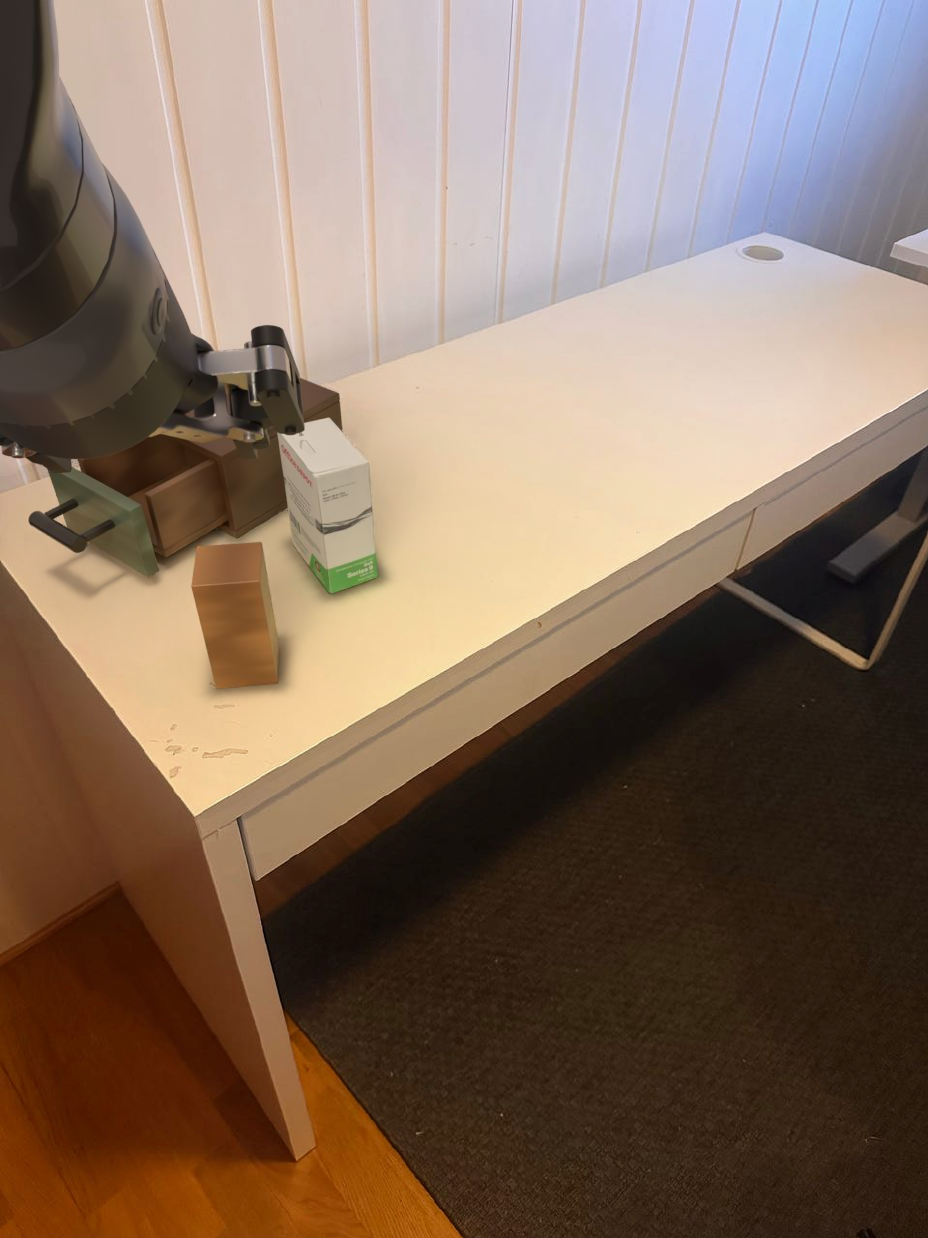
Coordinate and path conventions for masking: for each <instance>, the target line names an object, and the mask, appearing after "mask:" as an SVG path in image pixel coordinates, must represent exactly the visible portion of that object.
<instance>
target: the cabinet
mask: <svg viewBox="0 0 928 1238" xmlns="http://www.w3.org/2000/svg"><path fill="white" fill-rule="evenodd" d="M300 385H301V395H302V405H303V416H304V423H307V422H311V421H316V420H320V419H325V418H330V419H331V420H332V421H333V422H334V423H335V424H336V426H337V427H338V428H339V429H340V430H341V431H342V432H343V433H344V430H343V421H342V408H341V407H342V406H341V395H340V393H339V392H337V391H335V390H332V389H330V388H327V387H324V386H322V385H319V384H317V383H315V382H312V381H309V380H307V379H304V378H302V377H300ZM226 399H227V409H228V412H229V414H230V402H229V394H226ZM185 415H187V416H191V417H194V415H193V410H192V411H190V412H189V413H187V414H185ZM230 415H231V414H230ZM268 429H269V440H270V446H269V447H268V448H267V449H257V455H258V457H257V459H244V460H242V458H241V456H240V454H239V452H238V450H237V448H236V446H235V444H234V442H233V439H231V438H227V437H222V438H218V439H215V440H212V441H209V442H205V443H199V442H195V441H190V440H186V439H182V438H177V437H173V436H168V435H164V434H162V435H164V436H166V437H168V438H170V439H172V440H174V441H176V442H179V443H181V444H183V445H185V446H187V447H189V448H191V449H193V450H195V451H197V452H199V453H201V454H203V455H205V456H207V457H209V458H212V459H214V460H216V461H218V462H217V464H218V469H219V474H220V479H221V484H222V489H223V494H224V499H225V505H226V510H227V515H228V521H226V522H225V523H223V524H221V525H220V526H218V527H216V528H217V529H219V530H221V531H223V532H225V533H227V534H228V535H231V536H232V537H234V538H236V539H238V538H240V537H242V536H243V535H245V534H246V533H248V532H249V531H251V530H253V529H254V528H256V527H257V526H259V525H261V524H262V523H264V522H266V521H267V520H269V519H271V518H272V517H274V516H276V515H277V514H279V513H280V512H282V511H283V510H285V509H288V505H287V498H286V490H285V483H284V476H283V469H282V462H281V455H280V448H279V441H278V434H277V432H276V430H275V428H274V426H272V427H269V428H268Z"/></svg>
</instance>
